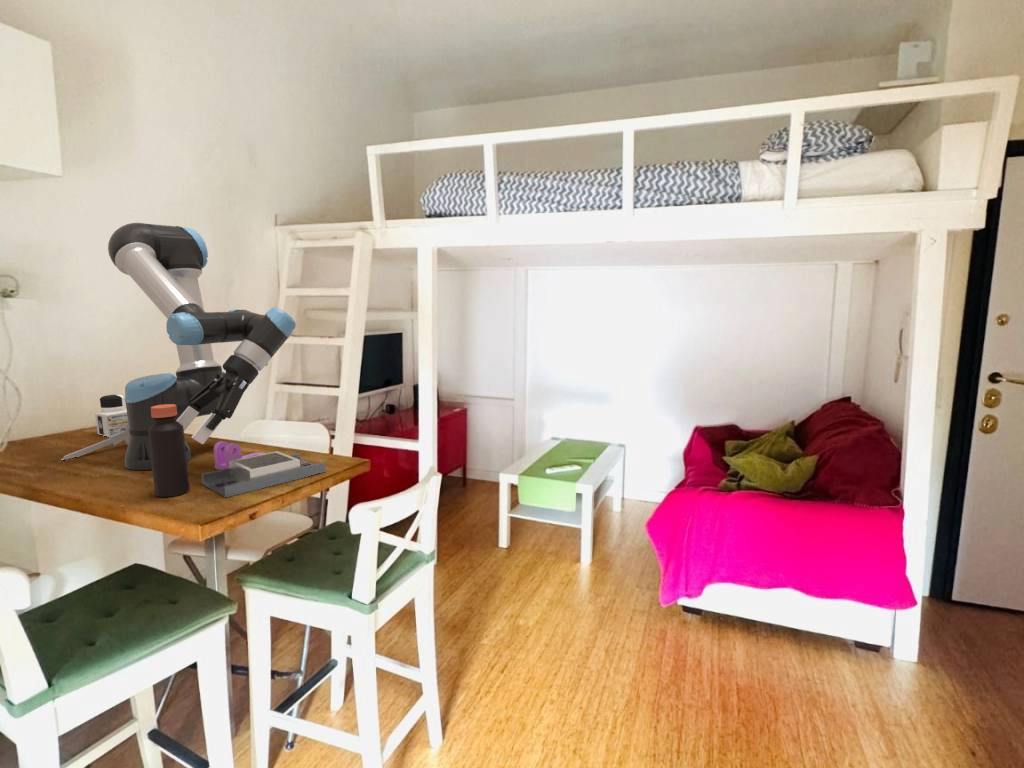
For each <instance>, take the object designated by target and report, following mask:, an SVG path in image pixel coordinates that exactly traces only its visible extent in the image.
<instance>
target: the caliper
mask: <svg viewBox="0 0 1024 768" xmlns="http://www.w3.org/2000/svg"><path fill="white" fill-rule="evenodd" d="M125 430H126V432H125V431H123V432H121V433H118V434H116V435H113V436H111V437H109V438H107V439H104V440H102V441H100V442H97V443H94V444H92V445H89V446H87V447H84V448H81V449H79V450H76V451H74V452H71V453H68V454H66V455H64V456H63V458H60V459H61V460H64V459H69V458H74V457H77V458H79V457H82V456H84V455H87V454H89V453H91V452H94V451H97V450H99V449H102V448H104V447H107V446H109V445H112V446H116V445H117V444H118V445H119V444H121V443H122V442H123V441H124V443H125V444H126V446H128V443H129V439H130V433H129V426H128V428H126V427H125ZM74 459H75V458H74Z"/></svg>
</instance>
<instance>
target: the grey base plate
mask: <svg viewBox="0 0 1024 768" xmlns="http://www.w3.org/2000/svg"><path fill="white" fill-rule="evenodd" d="M264 453H265V454H261V455H256V456H251V457H246V458H242V459H237V460H232V461H229V468H227V469H223V470H219V469H217V470H214V471H210V472H204V473H201V483H202V485H203V486H205V487H206V488H209V489H210V490H211V491H213V492H214V493H217V494H218V493H219V494H218V495H220V496H222V497H223V496H224V498H225V497H227V498H230V496H231V497H235V496H239V495H242V493H243V494H246V492H247V493H250V492H254V491H258V490H262V488H263V489H266V488H270V487H274V486H277V484H278V485H282V484H285V482H286V483H290V482H294V481H297V479H298V480H301V478H302V479H305V478H304V477H306V478H308V476H310V477H312V476H311V475H314V476H316V475H315V474H318V473H322V472H325V471H326V463H325V462H322V461H321V462H318V463H312V462H309V461H306V460H303V459H301V453H299V452H296V453H292V454H286V453H283V452H281V451H277V450H275V451H271V452H264ZM322 474H323V473H322ZM318 475H319V474H318ZM293 480H294V481H293ZM281 483H282V484H281ZM273 485H274V486H273ZM269 486H270V487H269ZM265 487H266V488H265ZM238 494H239V495H238ZM234 495H235V496H234Z"/></svg>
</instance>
